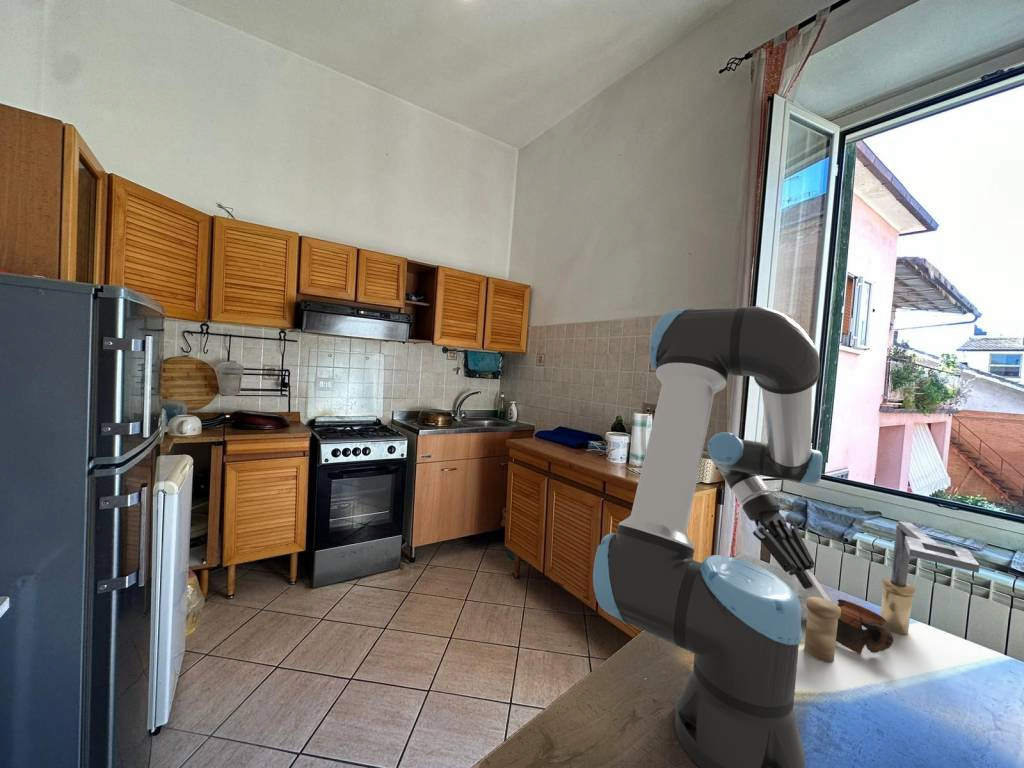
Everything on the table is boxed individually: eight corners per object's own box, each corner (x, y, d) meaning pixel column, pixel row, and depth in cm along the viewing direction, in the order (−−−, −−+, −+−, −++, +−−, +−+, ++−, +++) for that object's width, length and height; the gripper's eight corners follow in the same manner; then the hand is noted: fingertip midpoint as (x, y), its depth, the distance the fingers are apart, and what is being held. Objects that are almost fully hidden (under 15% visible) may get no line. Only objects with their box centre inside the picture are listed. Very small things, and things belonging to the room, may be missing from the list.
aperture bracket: (882, 671, 73) (896, 545, 72) (877, 617, 90) (887, 515, 89) (963, 701, 67) (979, 565, 66) (941, 638, 84) (953, 529, 83)
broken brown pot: (809, 630, 85) (822, 590, 87) (850, 653, 85) (861, 613, 87) (866, 654, 73) (879, 608, 75) (913, 682, 73) (924, 635, 75)
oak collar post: (800, 653, 76) (805, 604, 76) (803, 640, 80) (808, 593, 80) (835, 667, 73) (840, 615, 73) (836, 653, 77) (841, 604, 77)
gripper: (762, 504, 107) (827, 604, 93) (726, 508, 102) (789, 614, 87) (785, 490, 102) (857, 593, 88) (748, 493, 97) (819, 603, 82)
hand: (823, 603), depth 88 cm, fingers closed
